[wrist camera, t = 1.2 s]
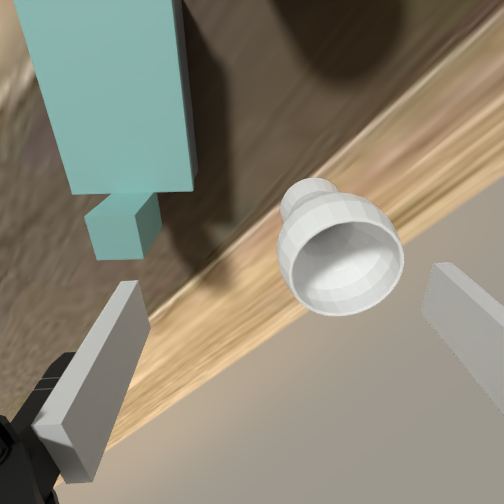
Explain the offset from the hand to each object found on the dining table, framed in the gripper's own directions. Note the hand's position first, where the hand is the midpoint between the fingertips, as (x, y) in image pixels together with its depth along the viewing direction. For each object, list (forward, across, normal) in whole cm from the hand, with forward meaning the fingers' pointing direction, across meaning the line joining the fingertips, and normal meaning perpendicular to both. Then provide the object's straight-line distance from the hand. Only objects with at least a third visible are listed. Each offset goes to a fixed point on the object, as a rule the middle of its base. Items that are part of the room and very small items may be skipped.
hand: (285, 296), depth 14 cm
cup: (+25, +6, -5) cm, 26 cm away
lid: (+19, -12, +6) cm, 24 cm away
